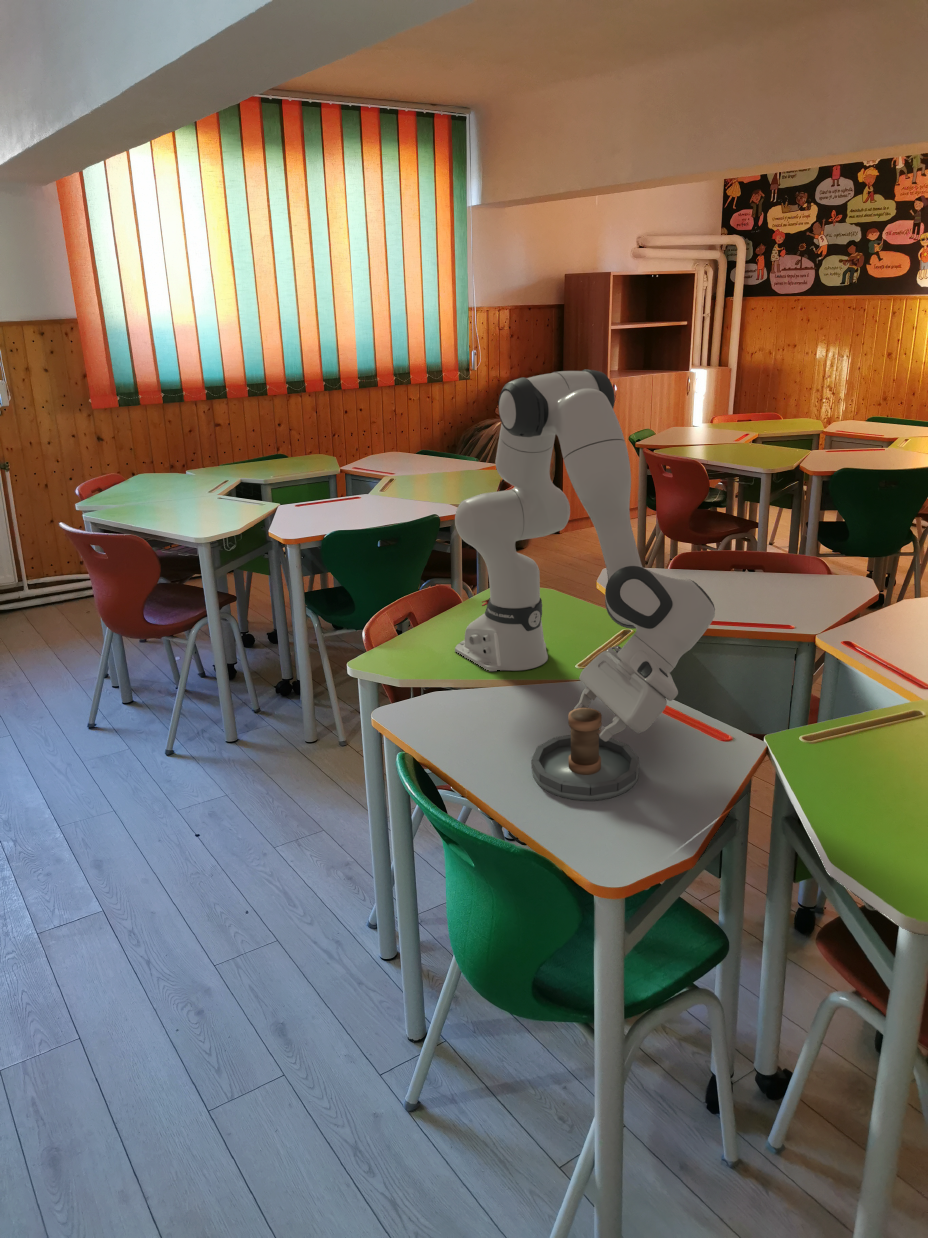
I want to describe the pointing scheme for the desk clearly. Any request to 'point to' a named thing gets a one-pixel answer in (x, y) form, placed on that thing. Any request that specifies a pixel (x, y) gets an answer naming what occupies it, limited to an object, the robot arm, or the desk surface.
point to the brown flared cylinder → (584, 741)
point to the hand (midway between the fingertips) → (588, 725)
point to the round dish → (605, 784)
